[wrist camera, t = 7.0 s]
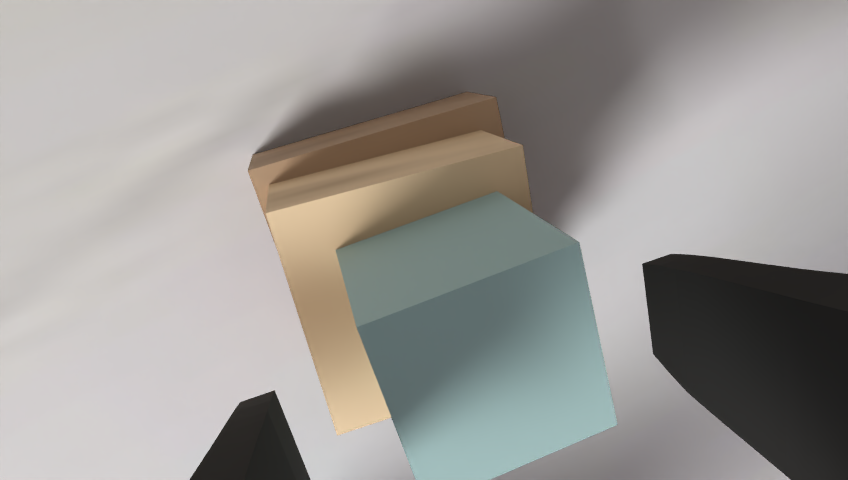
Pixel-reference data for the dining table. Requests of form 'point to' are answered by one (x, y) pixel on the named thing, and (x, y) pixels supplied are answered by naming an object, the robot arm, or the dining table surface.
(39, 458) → the dining table surface
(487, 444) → the teal cube
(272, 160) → the tower base
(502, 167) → the tower top
